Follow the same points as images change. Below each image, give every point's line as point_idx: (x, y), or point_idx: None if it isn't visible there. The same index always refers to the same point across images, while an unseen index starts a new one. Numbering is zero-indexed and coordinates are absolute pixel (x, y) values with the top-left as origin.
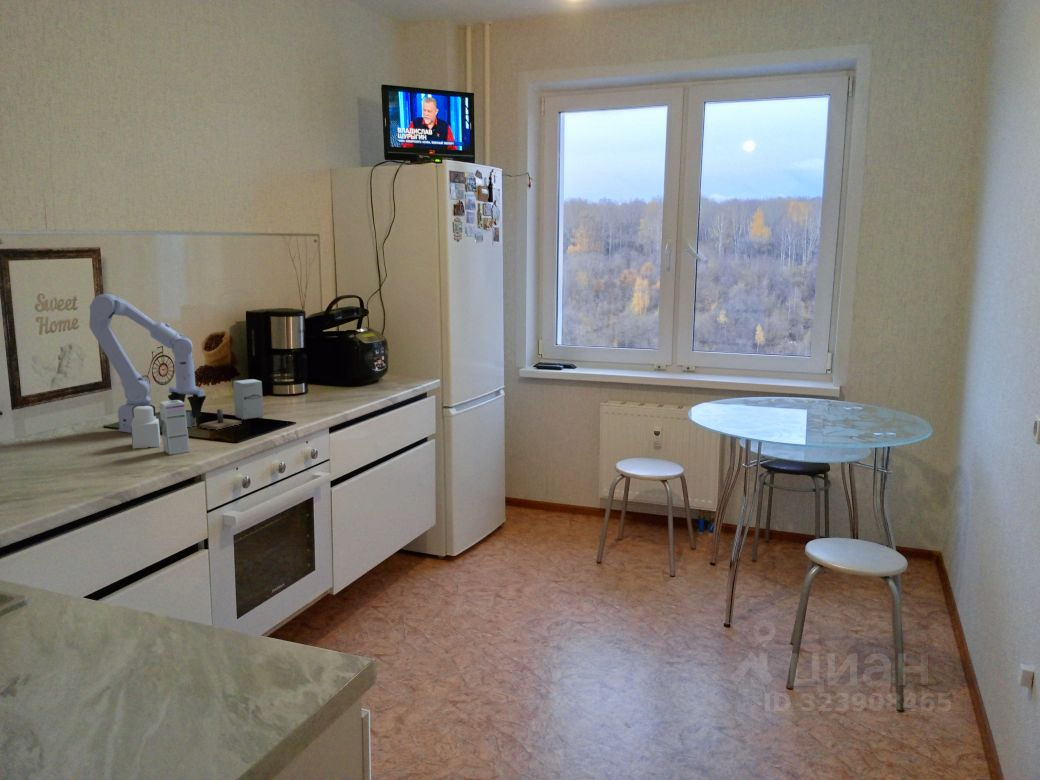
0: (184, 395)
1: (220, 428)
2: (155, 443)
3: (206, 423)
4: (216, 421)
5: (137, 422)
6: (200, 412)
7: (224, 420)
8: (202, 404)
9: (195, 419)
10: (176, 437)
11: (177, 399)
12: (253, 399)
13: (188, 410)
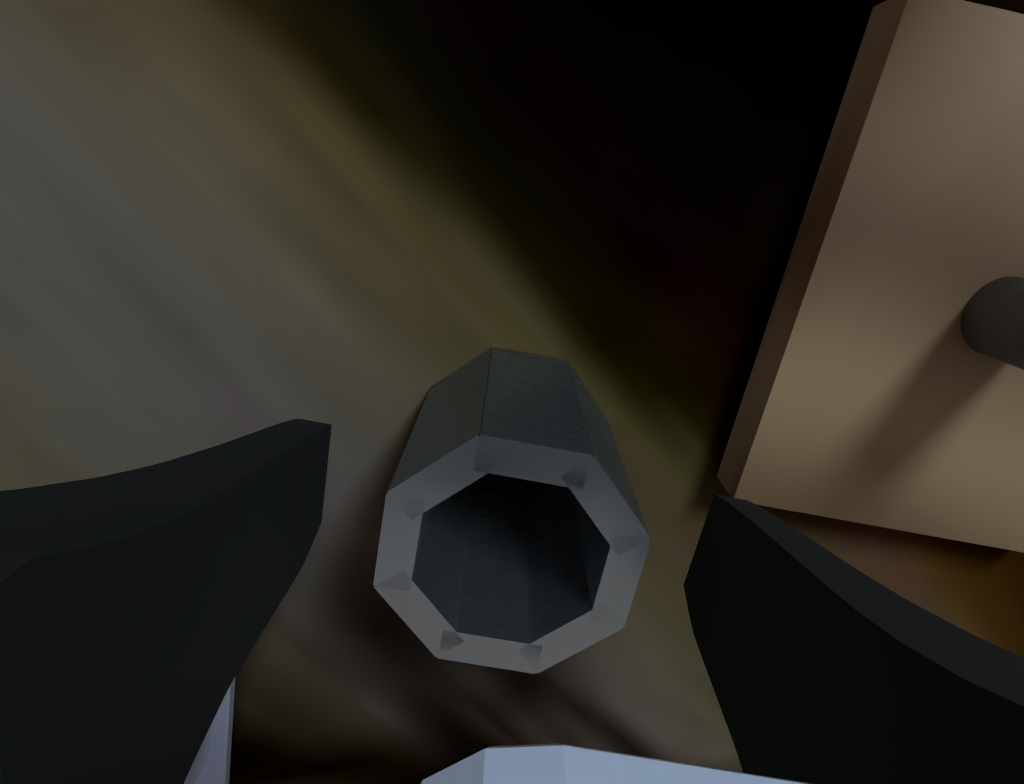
0: (79, 597)
1: None
2: None
3: (805, 426)
4: (893, 263)
5: None
6: (793, 533)
7: (999, 150)
8: (960, 639)
9: (592, 416)
10: None
11: (146, 766)
12: None
13: (457, 489)
